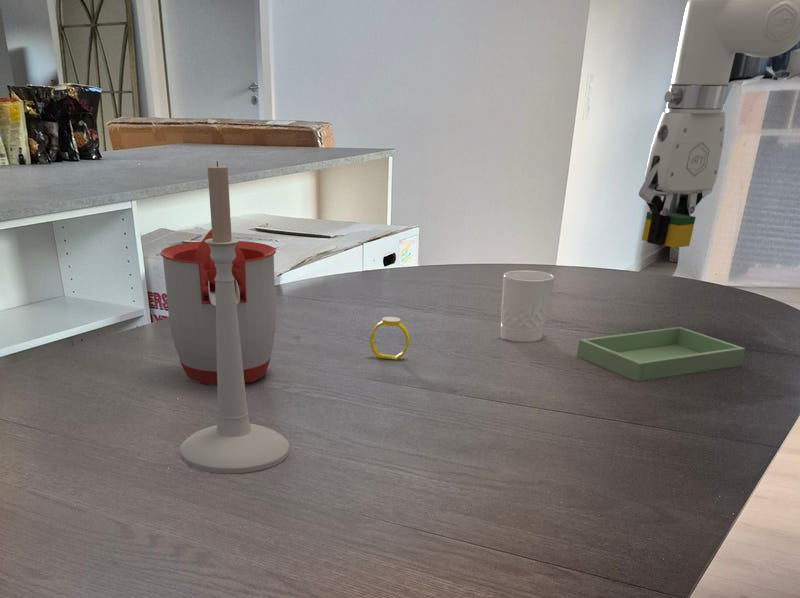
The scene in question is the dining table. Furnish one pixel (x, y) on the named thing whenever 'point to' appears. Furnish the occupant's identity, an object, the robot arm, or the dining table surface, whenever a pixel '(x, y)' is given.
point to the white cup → (525, 304)
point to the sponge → (674, 229)
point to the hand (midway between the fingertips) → (665, 241)
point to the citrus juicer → (197, 306)
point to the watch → (390, 322)
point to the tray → (660, 353)
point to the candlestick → (229, 365)
